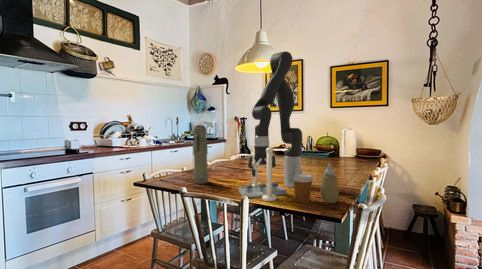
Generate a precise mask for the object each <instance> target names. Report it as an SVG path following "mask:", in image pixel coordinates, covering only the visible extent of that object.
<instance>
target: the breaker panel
mask: <svg viewBox="0 0 482 269" xmlns="http://www.w3.org/2000/svg"><path fill="white" fill-rule="evenodd" d="M265 185H266V187H265V188H259V186H253V188H252V189H249V190H248V189H246V186H239V187H238V193H239V194H241V195H242V197H243V196H247V197H249V198H262V196H263V195H265V194H267V184H265ZM272 194H274V195H276V196H284V195H287V189H286V188H284V187H283V186H281V185H279V184H278V186H277V187H274V188H273V187H272ZM249 198H248V199H249Z"/></svg>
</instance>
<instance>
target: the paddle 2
mask: <svg viewBox="0 0 482 269" xmlns="http://www.w3.org/2000/svg"><path fill="white" fill-rule="evenodd" d="M278 185H279V182H277V181H274V182H273V181H272V187H273V188H274V187H277V186H278Z"/></svg>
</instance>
